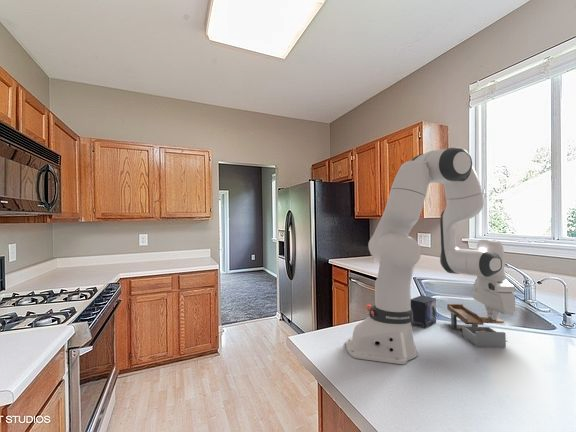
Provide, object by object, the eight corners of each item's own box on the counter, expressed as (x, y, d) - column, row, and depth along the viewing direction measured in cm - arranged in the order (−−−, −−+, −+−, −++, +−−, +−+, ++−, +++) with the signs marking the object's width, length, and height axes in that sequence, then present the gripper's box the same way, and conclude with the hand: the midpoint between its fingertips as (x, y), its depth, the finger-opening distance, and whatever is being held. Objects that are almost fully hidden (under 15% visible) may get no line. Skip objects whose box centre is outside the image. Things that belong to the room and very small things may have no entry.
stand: (453, 329, 109) (453, 314, 109) (448, 326, 113) (448, 311, 113) (480, 330, 108) (480, 315, 108) (475, 326, 112) (474, 312, 112)
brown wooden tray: (465, 324, 103) (465, 317, 103) (446, 309, 118) (446, 303, 118) (506, 325, 102) (506, 318, 102) (482, 310, 117) (482, 304, 117)
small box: (425, 329, 110) (425, 302, 110) (409, 324, 115) (409, 299, 115) (437, 322, 117) (436, 297, 117) (421, 318, 122) (421, 294, 122)
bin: (476, 347, 94) (476, 332, 94) (462, 335, 103) (462, 322, 103) (505, 348, 93) (505, 332, 93) (489, 336, 102) (488, 323, 102)
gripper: (467, 276, 117) (468, 309, 116) (499, 288, 96) (500, 328, 96) (483, 276, 116) (484, 310, 116) (519, 288, 96) (520, 329, 95)
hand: (492, 318), depth 106 cm, fingers closed, pressing on brown wooden tray
